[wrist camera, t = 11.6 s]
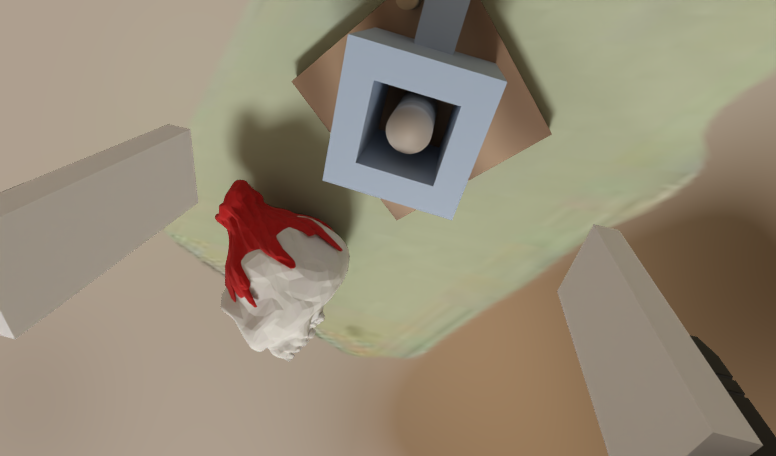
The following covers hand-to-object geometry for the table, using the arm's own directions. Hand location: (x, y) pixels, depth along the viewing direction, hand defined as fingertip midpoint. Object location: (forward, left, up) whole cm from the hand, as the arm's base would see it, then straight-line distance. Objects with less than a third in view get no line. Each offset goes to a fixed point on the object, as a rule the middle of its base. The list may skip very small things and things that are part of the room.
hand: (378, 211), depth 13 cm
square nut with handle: (-1, -1, -16) cm, 16 cm away
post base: (0, 0, -17) cm, 17 cm away
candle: (+16, +4, -17) cm, 24 cm away
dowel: (-3, -6, -17) cm, 18 cm away
